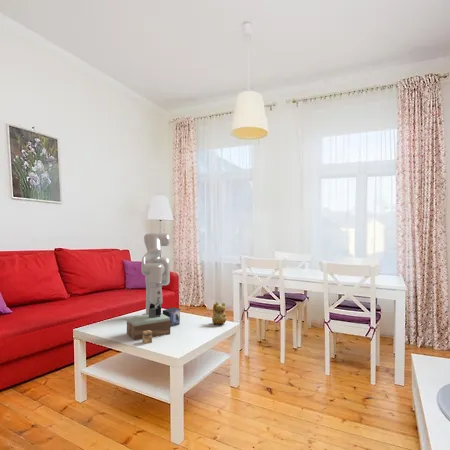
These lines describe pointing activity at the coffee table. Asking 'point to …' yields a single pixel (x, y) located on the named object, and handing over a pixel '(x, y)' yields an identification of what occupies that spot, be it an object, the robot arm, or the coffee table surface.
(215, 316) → the decorative figurine
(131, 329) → the open brown wooden box
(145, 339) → the wooden block
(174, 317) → the small box
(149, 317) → the lid
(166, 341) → the coffee table surface
